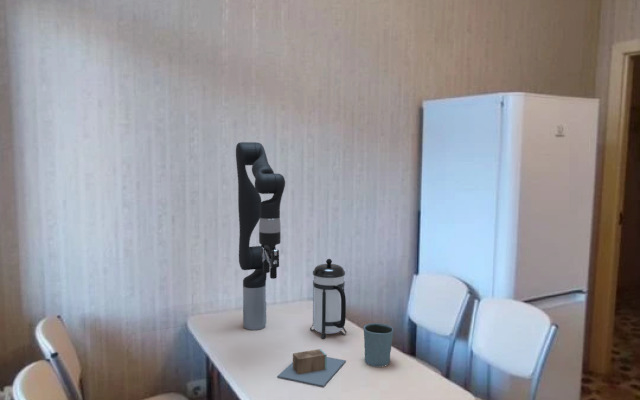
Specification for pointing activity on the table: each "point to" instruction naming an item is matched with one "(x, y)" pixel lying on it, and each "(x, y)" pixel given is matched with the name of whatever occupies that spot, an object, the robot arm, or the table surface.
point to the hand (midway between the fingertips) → (269, 275)
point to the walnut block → (309, 361)
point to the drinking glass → (377, 344)
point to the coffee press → (329, 299)
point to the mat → (314, 373)
